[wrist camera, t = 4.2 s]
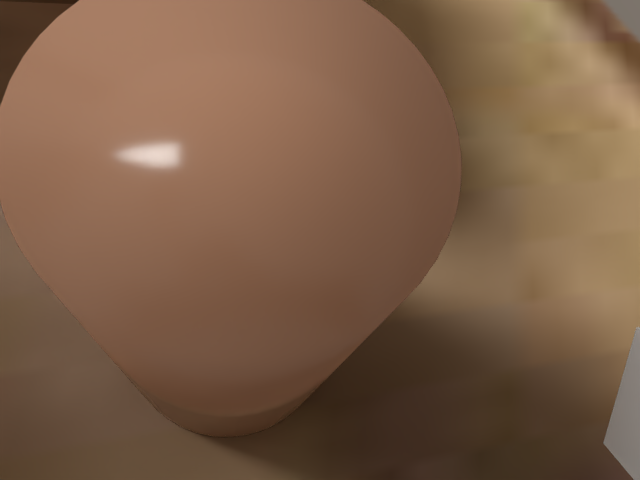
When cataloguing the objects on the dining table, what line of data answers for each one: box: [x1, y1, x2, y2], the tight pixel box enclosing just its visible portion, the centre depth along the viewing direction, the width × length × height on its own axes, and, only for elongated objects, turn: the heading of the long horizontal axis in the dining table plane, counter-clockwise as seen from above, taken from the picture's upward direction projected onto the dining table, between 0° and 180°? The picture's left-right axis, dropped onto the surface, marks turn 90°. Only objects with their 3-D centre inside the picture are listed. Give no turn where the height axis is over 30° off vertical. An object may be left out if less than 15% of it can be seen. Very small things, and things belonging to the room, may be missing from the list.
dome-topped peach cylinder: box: [0, 0, 462, 437], centre depth 14 cm, size 6×6×12 cm
